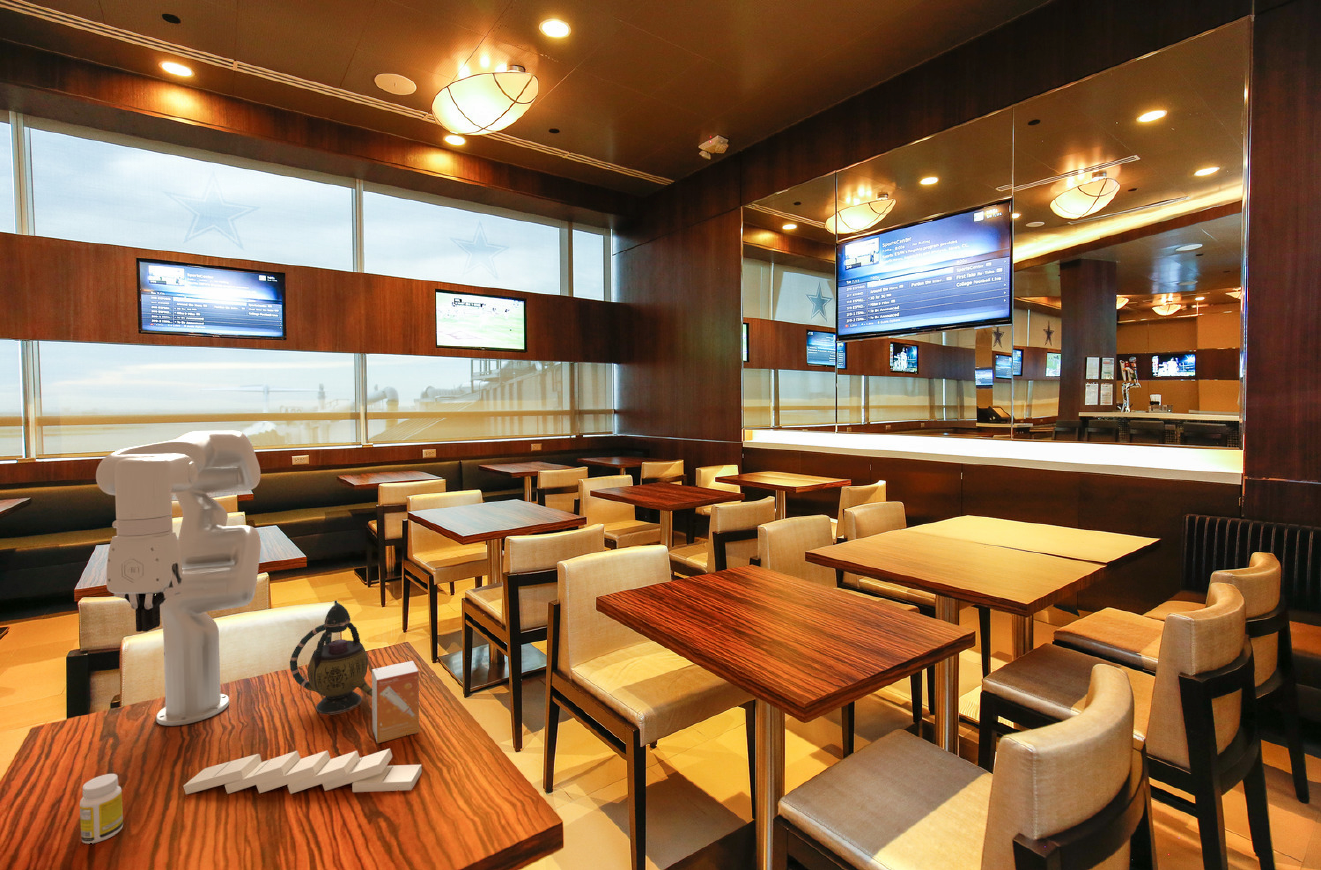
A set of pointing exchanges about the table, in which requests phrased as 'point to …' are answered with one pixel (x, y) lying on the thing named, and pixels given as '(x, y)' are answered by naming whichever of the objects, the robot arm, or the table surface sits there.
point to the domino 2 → (265, 772)
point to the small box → (395, 701)
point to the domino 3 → (297, 771)
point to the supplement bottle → (101, 809)
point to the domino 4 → (328, 772)
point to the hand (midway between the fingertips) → (148, 628)
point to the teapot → (334, 665)
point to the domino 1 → (222, 774)
